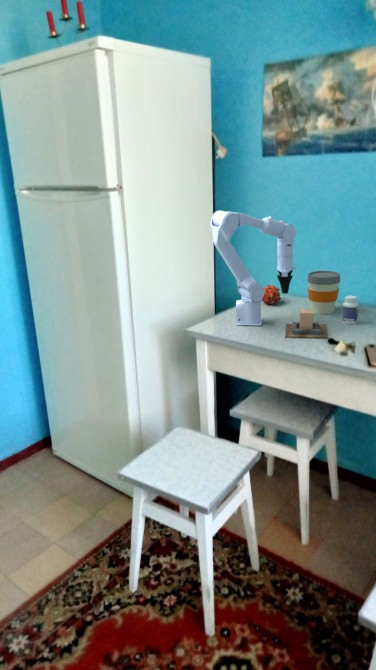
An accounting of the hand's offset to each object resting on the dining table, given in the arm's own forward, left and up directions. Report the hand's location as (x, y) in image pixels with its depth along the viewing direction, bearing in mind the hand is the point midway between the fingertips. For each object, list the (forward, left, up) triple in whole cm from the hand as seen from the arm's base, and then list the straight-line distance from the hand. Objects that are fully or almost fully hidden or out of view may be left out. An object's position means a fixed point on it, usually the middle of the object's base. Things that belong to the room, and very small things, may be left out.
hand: (285, 290), depth 186 cm
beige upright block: (+8, -17, -10) cm, 21 cm away
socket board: (+8, -17, -10) cm, 21 cm away
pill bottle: (+24, -6, -11) cm, 27 cm away
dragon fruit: (-6, +18, -11) cm, 22 cm away
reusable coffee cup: (+15, +8, -11) cm, 20 cm away
